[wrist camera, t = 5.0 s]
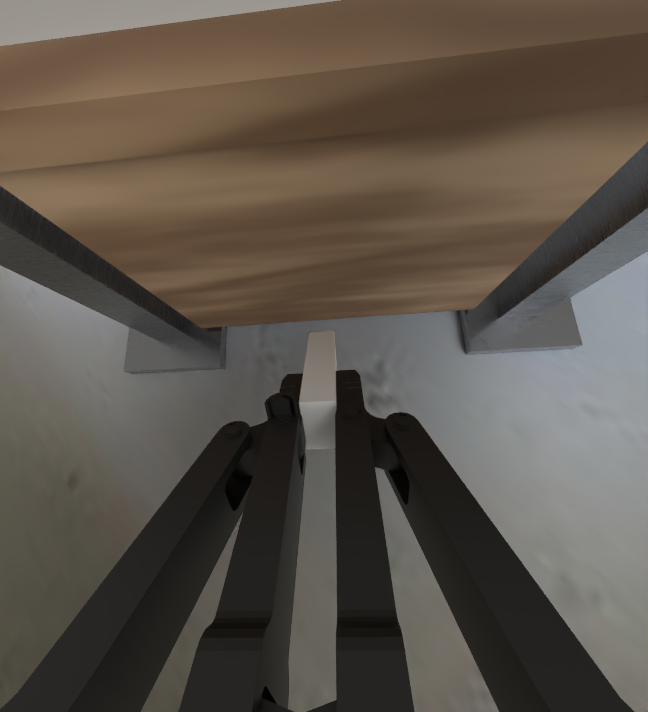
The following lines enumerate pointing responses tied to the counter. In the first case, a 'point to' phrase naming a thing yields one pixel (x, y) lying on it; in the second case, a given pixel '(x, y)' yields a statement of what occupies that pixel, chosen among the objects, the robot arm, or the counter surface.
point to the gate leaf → (327, 148)
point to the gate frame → (479, 325)
